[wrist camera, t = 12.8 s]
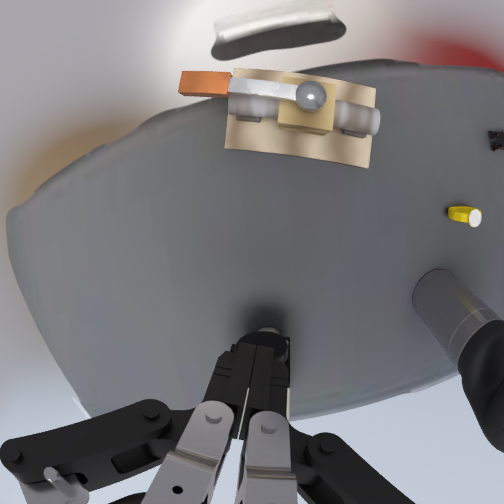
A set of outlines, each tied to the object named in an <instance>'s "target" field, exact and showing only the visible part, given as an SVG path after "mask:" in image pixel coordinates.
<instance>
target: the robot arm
mask: <svg viewBox="0 0 504 504" xmlns="http://www.w3.org/2000/svg"><path fill="white" fill-rule="evenodd" d="M413 306H414V308H415V310H416V311H417V313H418V314H419V315H420V317H421V318H422V319H423V321H424V322H425V324H426V325H427V326H428V328H429V329H430V331H431V332H432V333H433V335H434V336H435V338H436V339H437V340H438V342H439V343H440V345H441V346H442V348H443V349H444V351H445V352H446V353H447V355H448V356H449V358H450V359H451V361H452V362H453V364H454V365H455V367H456V368H457V370H458V372H459V373H460V375H461V377H462V385H463V390H464V392H465V395H466V397H467V399H468V401H469V403H470V405H471V407H472V409H473V411H474V413H475V416H476V418H477V420H478V423H479V425H480V427H481V429H482V431H483V433H484V435H485V436H486V438H487V439H488V441H489V442H490V443H491V444H492V445H493V446H494V447H495V448H496V449H497V450H499V451H501V452H504V321H503V320H502V319H501V318H500V317H499V316H498V315H497V314H496V313H495V312H494V311H492V310H491V309H490V308H489V307H488V306H487V305H486V304H485V303H484V302H483V301H482V300H480V299H479V298H478V297H477V296H476V295H475V294H474V293H473V292H471V291H470V290H469V289H468V288H467V287H466V286H464V285H463V284H462V283H461V282H460V281H459V280H457V279H456V278H455V277H454V276H453V275H451V274H450V273H449V272H448V271H446V270H443V269H436V270H433V271H431V272H429V273H427V274H426V275H425V276H424V277H423V278H422V279H421V280H420V281H419V283H418V284H417V286H416V288H415V291H414V294H413ZM255 350H256V345H252V344H247V343H242V342H240V344H239V348H238V351H237V353H234V352H229V351H225V352H224V353H223V354H222V355H221V356H219V357H218V360H217V363H216V366H215V369H214V371H213V374H212V377H211V380H210V383H209V385H208V388H207V391H206V394H205V397H204V399H203V401H202V403H201V404H199V405H198V406H197V407H195V408H193V409H190V410H170V409H169V408H168V406H167V405H166V404H164V403H163V402H161V401H158V400H155V399H146V400H142V401H139V402H137V403H134V404H131V405H129V406H126V407H123V408H120V409H118V410H115V411H112V412H109V413H106V414H103V415H100V416H97V417H94V418H91V419H88V420H84V421H81V422H78V423H74V424H71V425H68V426H64V427H60V428H57V429H53V430H50V431H45V432H41V433H37V434H33V435H28V436H24V437H19V438H14V439H9V440H7V441H5V442H4V443H3V444H2V446H1V448H0V459H1V462H2V464H3V465H4V466H5V467H6V468H7V469H8V470H9V471H10V472H11V473H12V474H13V475H14V476H15V477H16V478H17V480H18V481H19V483H20V486H21V489H22V491H23V494H24V496H25V499H26V501H27V504H87V503H88V501H89V492H90V491H94V490H97V489H100V488H103V487H106V486H109V485H111V484H114V483H117V482H120V481H122V480H125V479H127V478H130V477H132V476H135V475H137V474H140V473H142V472H144V471H147V470H149V469H151V468H154V467H156V466H158V465H160V464H162V465H161V467H160V468H159V471H158V472H157V474H156V476H155V478H154V480H153V482H152V484H151V485H150V487H149V489H148V491H147V492H143V493H136V494H132V495H129V496H126V497H124V498H121V499H119V500H116V501H114V502H111V503H109V504H210V502H211V499H212V496H213V492H214V489H215V486H216V483H217V480H218V478H219V475H220V472H221V469H222V466H223V464H224V461H225V457H226V455H227V452H228V451H229V449H230V445H231V440H232V438H233V439H237V437H238V432H239V428H240V424H241V419H242V415H243V410H244V406H245V401H246V396H247V391H248V386H249V391H248V396H247V401H246V406H245V411H244V416H243V421H242V426H241V430H240V435H239V439H240V440H244V442H243V447H242V452H241V455H240V464H239V473H238V484H237V493H236V498H235V504H297V503H298V502H297V492H298V493H299V494H300V495H301V496H302V498H303V499H304V500H305V501H306V502H307V503H308V504H415V503H414V502H413V501H411V500H410V499H409V498H408V497H406V496H405V495H404V494H403V493H402V492H401V491H399V490H398V489H397V488H396V487H395V486H393V485H392V484H391V483H390V482H389V481H387V480H386V479H385V478H384V477H383V476H382V475H380V474H379V473H378V472H377V471H376V470H375V469H374V468H372V467H371V466H370V465H369V464H368V463H367V462H366V461H365V460H364V459H363V458H362V457H360V456H359V455H358V454H357V453H356V452H355V451H354V450H353V449H352V448H351V447H350V446H349V445H347V444H346V443H345V442H344V441H343V440H342V439H341V438H340V437H338V436H337V435H335V434H332V433H327V432H326V433H325V432H324V433H319V434H316V435H314V436H310V435H307V434H304V433H302V432H299V431H298V430H296V429H294V428H293V427H292V426H291V425H290V423H289V422H288V420H287V392H288V388H287V387H288V368H287V367H286V365H285V363H284V361H278V360H273V355H274V348H269V347H264V346H258V347H257V352H256V356H255V361H254V366H253V371H252V365H253V360H254V355H255ZM251 371H252V375H251ZM250 376H251V380H250ZM249 381H250V385H249Z"/></svg>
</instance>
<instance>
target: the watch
mask: <svg viewBox="0 0 504 504" xmlns="http://www.w3.org/2000/svg"><path fill="white" fill-rule="evenodd" d="M448 216H449V218H450V219H452V220H455V221H460V222H468V224H469V225H470V226H472V227H477V226H478V225H479V224H480V222H481V210H479V209H477V208H473V207H467V206H458V207H450V208H448Z"/></svg>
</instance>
